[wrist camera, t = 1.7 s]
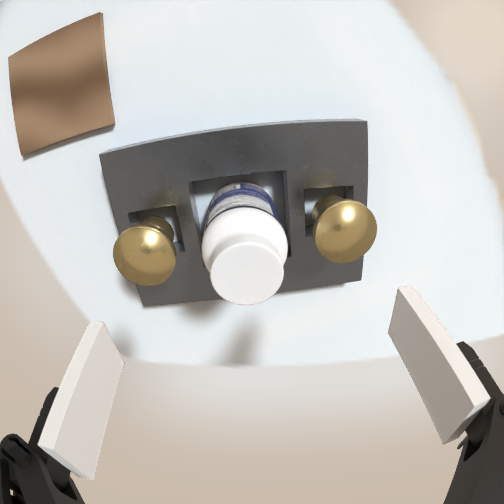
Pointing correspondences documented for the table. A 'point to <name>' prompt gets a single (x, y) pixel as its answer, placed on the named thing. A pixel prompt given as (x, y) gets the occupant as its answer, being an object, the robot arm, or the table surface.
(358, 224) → the plunger
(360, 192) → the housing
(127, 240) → the plunger
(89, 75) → the coaster
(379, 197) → the table surface
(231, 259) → the pill bottle
